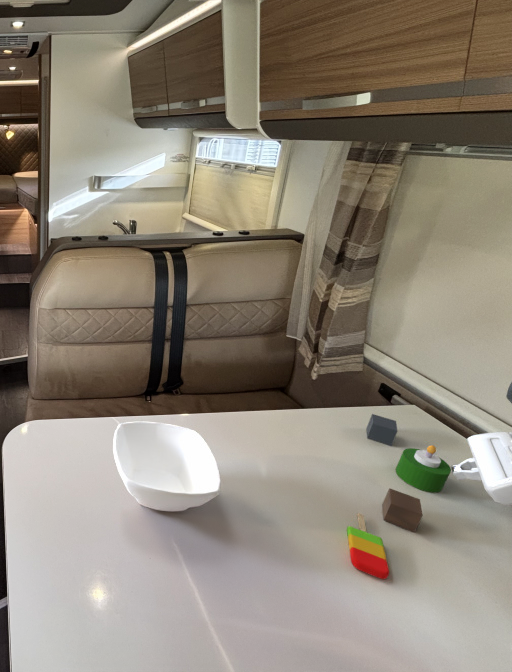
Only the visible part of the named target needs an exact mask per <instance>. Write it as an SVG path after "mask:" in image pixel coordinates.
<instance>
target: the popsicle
mask: <svg viewBox="0 0 512 672" xmlns="http://www.w3.org/2000/svg"><path fill="white" fill-rule="evenodd" d="M357 521H358V527H359V529H358V528H356V527H353V526H350V525H348V526H347V528H346V535H347V541H348V548H349V556H350V562H351V564H352V565H353V567H354V568H356V569H357V570H359V571H361V572H362V573H366V574H368V575H371V576H373V577H376V578H378V579H381V580H385V579H387V578H388V577H389V575H390V569H389V564H388V560H387V556H386V551H385V547H384V541H383V538H382V537H380V536H378V535H375V534H373V533H370V532H367V527H366V523H365V517H364V515H363V514H362V513H360V512H358V513H357Z"/></svg>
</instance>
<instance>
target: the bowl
mask: <svg viewBox="0 0 512 672" xmlns="http://www.w3.org/2000/svg"><path fill="white" fill-rule="evenodd" d="M112 443H113V444H112V452H113V458H114V462H115V465H116V468H117V472H118V474H119V476H120V478H121V480H122V481H123V484H124V487H125V488H126V490H127V491H128V493H129V494H130V496H132V497H133V498H135V500H136V502H137V503H138V504H139V505H141V506H143V507H146V508H149V509H152V510H156V511H162V512H183V511H186V510H187V509H189V508H196V507H201V506H203V505H205V504H206V503H208V502H209V501H211V500H212V499H214V498H216V497H217V496H219V494H220V492H221V487H222V481H221V475H220V469H219V466H218V462H217V460H216V458H215V456H214V454H213V451H212V450H211V448H210V446H209V444H208V443H207V441H206V440H205V439H204V438H203V437H202V436H201V434H200V433H199V432H198V431H196V430H195V429H194V430H193V429H191V428H188V427H185V426H182V425H176V424H170V423H165V422H164V423H163V422H157V421H142V420H141V421H139V420H138V421H126V422H120V423H119V424H118V425H117V427H116V429H115V431H114V434H113V441H112Z"/></svg>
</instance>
